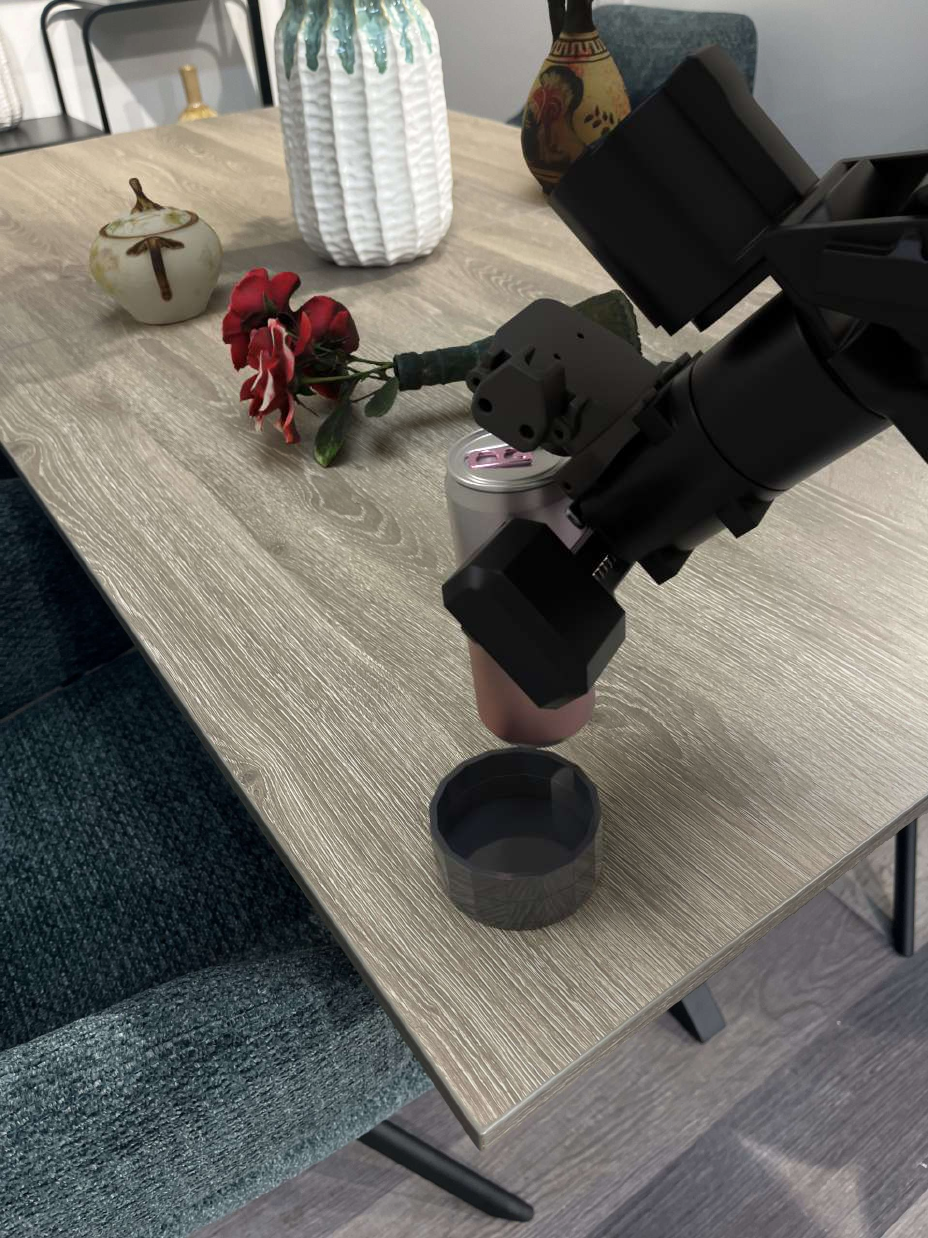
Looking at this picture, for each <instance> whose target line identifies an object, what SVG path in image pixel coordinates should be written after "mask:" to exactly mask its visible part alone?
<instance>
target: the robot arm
mask: <svg viewBox="0 0 928 1238" xmlns="http://www.w3.org/2000/svg"><path fill="white" fill-rule="evenodd" d="M546 204H547V205H548V206H549V207H550V209H552V211H553V212H554V213H555V214H556V215H557V217H558V218H559V219H560V220H561V221H562V222H563V224H564V225H565V226H566V227H567V228H568V229H569V230H570V232H571V233H572V234H573V235H574V236H575V237H576V239H577V240H578V241H579V242H580V243H581V244H582V246H583V247H584V248H585V249H586V250H587V251H588V253H590V255H591V256H592V257H593V258H594V259H595V260H596V262H598V263H597V264H599V265H600V266H601V267H602V269H603V270H604V271H605V272H606V274H607V275H609V277H610V278H611V280H613V281H614V283H616V285H617V286H618V287H619V289H620V290H621V291H622V292H623V293H624V294H625V295H626V297H627V298H628V299H629V300H630V302H631V303H632V304H633V305H634V306H635V307H636V308H637V309H638V310H639V312H640V313H641V314H642V315H643V317H644V318H645V319H647V321H648V322H649V323H650V324H651V325H652V326H653V328H654V329H658V328H660V327H661V328H662V329H663V330H664V331H665V333H666V334H668V336H669V337H670V338H671V337H673V336H674V335H675V334H677V333H678V332H679V331H680V330H682V329H683V328H684V327H685V326H687V325H688V324H689V323H690V322H691V324H692V325H693V326H694V328H696V330H697V331H698V332H699V333H703V332H704V331H706V330H707V329H709V328H710V327H712V326H713V325H714V324H715V323H716V322H718V321H719V320H720V319H722V317H724V316H725V315H726V314H727V313H728V312H730V311H731V310H732V309H733V308H734V307H736V306H737V305H738V304H739V303H740V302H741V301H742V300H743V299H745V298H746V297H747V296H748V295H750V294H751V292H753V291H754V290H755V289H756V288H757V287H758V286H760V285H761V284H762V283H763V282H765V281H766V279H768V278H770V277H771V279H773V281H774V282H775V283H776V285H777V286H778V287H779V288H780V289H781V290H780V291H778V292H777V293H776V294H774V296H772V297H771V298H770V299H769V300H767V301H766V302H765V303H764V304H763V305H761V306H760V307H759V308H758V309H757V310H755V311H753V312H752V313H751V314H750V315H749V316H748V317H747V318H745V319H744V320H743V321H742V322H740V323H739V324H738V325H737V326H736V327H735V328H733V329H732V330H730V331H729V333H727V334H726V335H725V336H724V337H722V338H721V339H720V340H719V341H717V342H716V343H715V344H714V345H712V346H711V347H710V348H709V349H707V350H706V351H705V352H703V351H702V350H701V349H699V350H698V351H697V352H695V353H694V354H693V355H691V354H690V353H689V352H688V351H684V352H683V353H682V354H681V355H680V356H678V357H677V358H675V360H674V361H666V360H660V362H659V363H657V364H655V363H653V362H651V361H650V359H649V360H648V359H647V358H646V357H644V356H643V355H642V356H641V355H640V354H639V353H638V352H637V350H636V349H635V348H634V347H633V346H632V345H631V344H630V343H628V342H627V341H625V340H624V339H622V338H620V337H619V336H617V335H615V334H614V333H612V332H610V331H609V330H607V329H606V328H604V327H602V326H601V325H599V324H597V323H596V322H594V321H592V320H591V319H589V318H587V317H586V316H584V315H582V314H581V313H579V312H577V311H576V310H574V309H572V308H571V307H572V306H570V305H567V304H566V303H564V302H562V301H560V300H557V299H554V298H548V297H547V298H546V297H542V298H538V299H535V300H533V301H532V302H530V303H529V304H528V305H527V306H525V307H524V308H523V309H521V311H519V312H518V313H516V314H515V315H513V317H511V318H510V319H509V320H507V321H506V322H505V323H504V324H502V325H501V326H500V327H499V328H498V329H497V330H496V331H495V333H494V334H493V335H494V338H493V341H492V344H491V347H490V348H489V349H488V350H487V351H486V352H485V355H484V358H483V360H482V362H481V363H480V364H479V365H478V366H476V367H475V368H474V369H473V370H471V371H470V372H469V373H468V374H467V375H466V382H465V385H466V387H467V389H468V390H469V391H470V392H471V393H472V394H473V395H472V398H471V403H470V406H469V407H470V408H469V409H470V410H469V411H470V413H471V416H472V418H473V421H474V422H475V424H476V425H477V426H478V427H479V428H480V429H481V428H483V429H484V430H486V431H487V432H489V433H491V434H492V435H494V436H495V437H497V438H498V439H500V440H502V441H503V442H505V443H506V444H508V445H509V446H511V447H513V448H514V449H516V450H517V451H519V452H521V453H527V452H532V451H535V450H536V449H537V448H538V447H541V448H542V449H544V450H546V451H547V452H549V453H551V454H554V455H556V456H561V457H571V458H570V459H569V460H568V461H566V462H565V463H564V464H563V465H562V466H560V468H559V469H558V470H557V471H556V472H555V473H554V474H553V475H552V476H551V478H552V479H553V480H554V481H555V482H556V483H557V485H558V486H559V487H560V488H561V489H562V490H563V491H564V492H565V493H566V495H567V496H568V497H569V498H570V499H572V500H573V501H572V502H571V504H570V505H569V506H568V507H567V508H566V509H565V515H566V517H567V518H568V519H569V520H570V522H571V523H572V524H573V525H574V526H575V527H577V528H578V529H580V530H581V529H583V528H584V527H586V524H587V530H586V531H585V532H584V533H583V534H582V536H581V537H580V538H579V539H578V540H577V541H576V543H575V544H574V545H573V546H572V547H571V549H569V548H568V547H567V546H566V545H565V544H564V543H563V541H562V540H561V539H560V538H559V537H558V536H557V535H556V534H555V533H554V531H553V530H552V529H551V528H550V527H549V526H548V525H547V524H546V523H543V522H539V521H534V520H530V519H525V518H521V517H516V516H514V517H513V518H512V519H510V520H509V521H508V522H504V523H503V524H502V525H501V526H500V527H499V528H498V529H497V530H496V531H495V532H494V533H493V534H492V536H491V537H489V538H488V539H487V540H486V541H485V542H484V543H483V544H482V545H481V546H480V547H479V548H477V549H476V550H475V552H474V553H473V554H472V555H471V556H470V557H469V558H468V559H467V560H466V561H465V562H464V563H463V564H462V565H461V566H460V567H459V568H458V569H457V568H456V570H455V571H454V572H453V573H452V574H451V575H450V576H449V577H448V578H447V580H445V581H444V583H443V584H442V585H441V594H442V603H443V607H444V608H445V610H447V611H448V612H449V614H451V616H452V617H453V618H454V619H455V620H456V621H457V622H458V623H459V624H460V630H461V631H462V633H463V634H464V635H465V636H466V638H467V637H468V638H469V639H470V640H471V641H472V642H473V643H475V644H477V645H480V646H481V647H482V648H483V649H484V650H485V651H486V652H487V653H488V654H489V655H490V656H491V657H492V658H493V660H494V661H495V662H496V663H497V664H498V665H499V666H500V667H501V668H502V669H503V670H504V671H505V672H506V674H507V675H508V676H509V677H510V678H511V679H512V680H513V681H514V682H515V683H516V684H517V685H518V686H519V688H520V689H521V690H522V691H523V692H524V693H525V694H526V695H527V696H528V697H529V698H530V699H531V700H532V702H533V703H534V704H535V705H536V706H537V707H538V708H539V709H551V710H557V709H559V708H561V707H563V706H565V705H567V704H568V703H570V702H572V701H574V700H576V699H578V698H580V697H582V696H584V695H586V694H587V693H588V692H589V691H590V689H591V688H592V686H593V685H594V683H595V684H596V682H597V681H598V679H599V678H600V676H601V675H602V674H603V672H604V670H605V669H606V667H607V666H608V665H609V663H610V662H611V661H612V659H613V658H614V656H615V655H616V653H617V652H618V651H619V649H620V648H621V646H622V645H623V643H624V642H625V641H626V638H627V636H626V635H627V633H626V632H627V631H626V630H627V628H626V626H627V625H626V624H627V623H626V622H627V621H626V617H627V616H626V615H627V614H626V610H625V608H623V607H622V606H621V605H620V603H619V602H618V600H617V598H616V595H615V592H616V590H617V588H618V587H619V586H620V585H621V583H622V582H623V581H624V579H625V578H626V576H627V575H628V574H629V573H630V571H631V570H632V568H633V567H634V566H635V564H636V563H638V564H639V566H641V568H642V570H644V571H645V572H646V573H647V575H648V576H649V577H650V578H651V579H652V580H653V581H654V582H655V583H656V585H657V586H662V585H663V584H665V583H666V582H668V581H669V580H671V579H673V578H675V577H676V576H677V575H678V574H679V572H680V571H681V570H682V568H683V566H685V564H686V562H687V561H688V560H689V558H690V556H691V555H692V554H693V552H694V551H695V549H696V548H698V547H699V546H701V545H702V544H703V543H706V542H707V541H709V540H710V539H712V538H713V537H715V536H716V535H718V534H720V533H722V532H723V531H725V530H726V529H727V530H728V531H729V532H730V533H731V535H732V536H733V537H734V538H735V539H736V540H737V539H739V538H741V537H743V536H745V534H748V533H749V532H751V531H753V530H754V529H756V528H757V527H758V526H759V525H760V524H761V522H762V520H763V518H764V517H765V515H766V514H767V513H768V511H769V509H770V507H771V506H772V504H773V502H774V501H775V500H776V498H778V497H780V496H782V495H783V494H784V493H786V492H788V491H789V490H791V489H793V488H794V487H795V486H797V485H798V484H800V483H802V482H803V481H805V480H807V479H808V478H810V477H811V476H813V475H814V474H816V473H818V472H820V471H821V470H823V469H824V468H826V467H828V466H829V465H831V464H833V463H834V462H836V461H837V460H839V459H840V458H842V457H844V456H845V455H847V454H849V453H850V452H852V451H854V450H855V449H857V448H858V447H860V446H862V445H863V444H864V443H866V442H868V441H869V440H872V439H873V438H874V437H876V436H877V435H879V434H881V433H882V432H884V431H886V430H888V429H889V428H891V427H892V426H894V427H895V428H896V429H897V430H898V431H899V433H900V434H901V435H902V436H903V437H904V439H905V440H906V441H907V442H908V444H909V445H910V446H911V448H913V449H914V451H915V452H916V453H917V454H918V455H919V457H920V458H921V459H922V460H923V461H924V463H925V464H926V465H927V466H928V148H927V149H917V150H909V151H908V150H907V151H900V152H899V151H898V152H890V153H889V152H888V153H881V154H873V155H864V156H855V157H845V158H841V159H839V160H837V161H836V162H835V163H834V164H833V165H832V166H831V167H830V168H829V169H828V170H827V172H825V173H824V174H823V175H822V176H821V177H819V176H818V175H817V174H816V172H815V170H813V169H812V167H811V166H810V165H809V164H808V163H807V161H806V160H805V159H804V158H803V157H802V156H801V155H800V153H799V152H798V150H796V148H795V147H794V146H793V144H792V143H791V142H790V140H788V138H786V136H785V134H783V132H782V131H781V130H780V129H779V127H778V125H776V124H775V123H774V121H773V120H772V119H771V118H770V116H769V115H768V114H767V113H766V111H764V110H763V108H762V107H761V106H760V105H759V103H758V102H757V101H756V99H755V98H754V96H753V95H752V93H751V90H750V88H749V86H748V84H747V81H746V80H745V77H744V75H743V74H742V72H741V71H740V70H739V68H738V67H737V65H736V64H735V63H734V62H733V60H732V59H731V58H730V56H728V54H727V53H726V52H725V51H724V49H722V47H721V46H720V45H719V44H718V43H707V44H705V45H704V46H702V47H700V48H698V49H696V50H694V51H693V52H691V53H690V54H688V55H686V56H685V57H684V58H683V59H682V61H681V62H680V63H679V64H678V65H677V66H676V67H675V68H674V70H673V71H672V72H671V73H670V75H668V76H667V78H666V79H665V80H664V81H663V82H662V83H661V84H659V85H658V86H657V87H656V88H655V89H654V90H653V91H652V92H650V93H649V94H648V95H647V96H646V97H645V98H644V99H643V100H641V101H640V102H639V103H638V104H637V105H636V106H635V107H634V108H633V109H631V112H630V113H629V114H628V115H627V116H626V117H625V118H624V119H623V120H622V121H621V122H620V123H619V124H618V125H617V126H616V127H615V128H614V129H613V130H611V131H609V132H608V133H606V134H605V135H603V136H601V137H600V138H598V139H596V140H595V141H593V142H592V143H591V144H590V145H588V146H587V147H586V148H585V150H584V151H583V152H582V153H581V154H580V155H579V156H578V158H577V159H576V160H575V161H574V162H573V163H572V165H571V166H570V167H569V168H568V170H567V171H566V172H565V173H564V175H563V176H562V177H561V178H560V180H559V181H558V183H557V184H556V185H555V187H554V188H553V190H552V191H551V193H550V195H549V197H548V200H546Z"/></svg>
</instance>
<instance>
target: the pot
mask: <svg viewBox="0 0 928 1238" xmlns="http://www.w3.org/2000/svg"><path fill="white" fill-rule="evenodd" d="M428 814H429V815H428V816H429V831H430V832H429V833H430V838H431V845H432V850H433V856H434V862H435V868H436V874H437V877H438V878H439V882H440V884H441V885H440V886H441V887H442V889H443V891H444V893H445V895H446V896H447V898H448V899H449V901H450V902H451V903H452V904H453V905H454V906H455V907H456V908H457V909H458V910H459V911H460V912H462V914H464V915H465V916H467V917H469V918H470V919H472V920H474V921H476V922H478V923H480V924H483V925H486V926H489V927H491V928H496V929H501V930H509V931H510V930H511V931H527V930H533V929H539V928H543V927H547V926H550V925H552V924H555V923H557V922H560V921H562V920H564V919H565V918H567V917H569V916H570V915H572V914H573V913H574V912H576V911H577V910H578V909H580V908H581V907H582V906H583V905H584V903H586V901H587V900H588V899H589V898H590V896H591V895H592V894H593V891H594V890H595V888H596V886H597V885H598V881H599V879H600V875H601V870H602V861H603V858H604V847H603V846H604V838H603V837H604V836H603V835H604V833H603V829H604V827H603V824H604V822H603V809H602V804H601V799H600V795H599V790H598V787H597V785H596V784H595V783H594V782H593V780H592V779H591V778H590V777H589V776H588V775H587V773H586V772H585V771H584V770H583V768H581V766H580V765H579V764H577V763H575V762H573V761H571V760H570V759H567V758H565V757H564V756H562V755H561V754H558V753H556V752H555V751H552V750H546V749H542V748H523V747H518V746H511V747H503V748H493V749H489V750H486V751H483V752H481V753H479V754H477V755H475V756H472V757H470V758H467V759H465V760H462V761H460V763H459V764H458V765H456V767H454V768H453V769H452V770H451V771H450V772H448V773H447V774H446V775H445V776H444V777H443V778H442V779H440V781H439V783H438V785H437V787H436V790H435V792H434V794H433V796H432V797H431V800H430V802H429V805H428Z"/></svg>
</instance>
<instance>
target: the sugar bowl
mask: <svg viewBox="0 0 928 1238" xmlns="http://www.w3.org/2000/svg"><path fill="white" fill-rule="evenodd" d="M128 185H129V186H130V187H131V189H132V191H133V193H134V195H135V196H136V202H135V205H134V206H133V208H131V210H128V211H126V212H123V213H121V214H120V215H118V216H116V217H115V218H113V220H112V221H110V222H108V223H107V224H105V225H104V226H102V227H101V228H100V229H99V231H98V235H97V236H96V238H95V239H94V241H93V242H92V244H91V246H90V250H89V255H88V262H89V269H90V271H91V274H92V276H93V279H94V280H95V281H96V283H97V285H98V286H99V287H100V288H101V290H103V291H104V292H105V294H107V296H109V297H110V298H111V299H112V300H114V302H115V303H117V304H118V305H119V306H120V307H121V308H122V309H124V310H125V311H126V312H127V313H129V314H130V315H131V316H132V317H133V318H134V319H135V320H136V321H138V322H139V323H143V324H148V325H166V324H172V323H178V322H182V321H186V320H190V319H193V318H195V317H197V316H199V315H201V314H203V312H204V311H205V310H206V308H207V305H208V303H209V301H210V298H211V296H212V294H213V291H214V289H215V287H216V285H217V283H218V281H219V278H220V275H221V271H222V267H223V263H224V250H223V245H222V243H221V239H220V237H219V235H218V234H217V233H216V231H215V229H214V228H213V227H212V226H211V225H210V224H209V223H208V222H207V221H205V220H204V219H202V218H201V217H200V216H199V215H198V214H197V213H196V212H193V211H192V210H186V209H184V210H183V209H180V208H178V207H174V206H168V205H167V206H166V205H161V204H159V203H156V202H154V201H153V200H151V199H150V198H148V197H147V196H146V194H145V193H144V191H143V187H142V184H141V182H140V179H139V178H137V177H131V178H129V180H128Z"/></svg>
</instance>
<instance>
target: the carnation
mask: <svg viewBox="0 0 928 1238" xmlns="http://www.w3.org/2000/svg"><path fill="white" fill-rule="evenodd" d="M301 285H302V281H301V277H300V276H299V275H298V274H297V273H295V272H293V271H280V272H279V273H277V274H276V275H273V276H272V278H269V273H268V271H267V269H266V268H265V267H257V268H252V269H251V270H250V271H248V272H247V273H246V275H245V276H244V277H243V278H242V279H241V280H239V282H238V283H237V284H235V286H234V288H233V290H232V291H231V294H230V296H229V301H230V304H229V305H228V306H227V311H228V312H226V313H225V315H224V317H223V319H222V323H221V332H222V334H221V335H222V337H221V338H222V342H223V343H224V345H230V357H231V363H232V365H233V369H234V370H236V372H237V373H239V371H240V370H241V369H245V368H246V367H248V366H249V367H250V369H253V370H255V371H256V372H257V373H256V374H253V375H251V376H250V377H248V378H247V379H245V380H244V381H243V383H242V384H241V388H240V391H239V403H241V402H245V401H248V400H251V401H250V404H249V407H248V409H247V414H248V417H249V419H251V420H252V419H253V418H255V421H254V423H255V424H254V428H255V430H256V431H257V432H260V433H262V432H263V431H264V430H263V428H262V426H263V421H264V418H265V417H266V416H268V415H270V414H272V413H273V412H275V411H277V410H278V411H279V413H280V417H279V419H277V420H276V422H275V423H274V428H275V429H277V430H278V431H279V432H280V433H282V434H283V435H284V438H285V443H286V444H290V445H298V444H300V443H301V441H302V438H301V435H300V433H299V431H298V429H297V425H296V422H295V417H294V416H295V403H296V404H297V405H296V406H301V407H303V408H304V409H306V410H307V411H309V412H310V413H312V414H313V415H314V416H316V417H320V416H319V415H318V414H317V413H316V412H314V411H313V410H312V409H310V408H309V407H307V406H306V405H305V403H304V402H302V401H301V400H300V399H299V397H298V395H299V396H302V397H313V396H317V395H319V396H322V397H324V398H325V399H326V400H327V399H328V400H330V401H334V402H335V404H336V406H335V407H334V408H333V410H332V412H331V413H330V414H329V415H328V416H327V418H326V419H325V420H324V421H323V422H322V424H321V425H320V426H319V427H318V430H317V433H316V435H315V437H314V441H313V455H314V458H315V459H316V461H317V462H318V463H320V465H321V466H322V467H324V468H326V467H328V465H329V464H330V463H331V460H332V459H333V458H334V457H335V456H336V455H337V453H338V452H339V450H340V448H341V447H342V445H343V444H344V442H345V440H346V437H347V436H348V432H349V429H350V424H351V420H352V419H351V418H352V410H353V408H352V407H353V406H352V405H353V404H356V405H357V404H358V403H359V402H361V401H363V400H365V399H367V398H369V397H370V399H369V400H368V401H367V402H366V403H365V405H364V411H363V413H364V417H365V418H369V419H370V418H381V417H384V416H385V415H386V414H388V413H389V411H391V409H392V407H393V406H394V403H395V401H396V399H397V397H398V393H399V392H400V393H402V392H406V391H420V390H421V389H422V388H423V386H425V387H433V386H437V385H442V386H447V385H448V384H452V383H458V382H465V383H466V375H467V374H468V373H469V372H470V371H471V370H473V369H474V368H475V367H476V366H478V365H479V364H480V363H481V362H482V360H483V358H484V355H485V352H486V351H487V350H488V349H489V348H490V347H491V344H492V341H493V338H494V335H495V334H491V335H489V336H487V337H484V338H483V339H480V340H476V341H473V342H471V343H469V344H467V345H457V346H447V347H442V348H436V349H434V350H425V351H423V352H422V353H417V352H416V351H409V352H402V353H400V354H398V353H395V354H393V357H392V361H377V360H372V359H371V360H370V359H366V358H361V357H358V356H356V355H354V354H352V353H355V352H357V351H358V349H359V348H360V340H361V338H360V334H359V331H358V328H357V325H356V322H355V319H354V318H353V316H352V314H351V312H350V310H349V309H348V308H347V307H346V306H345V305H344V304H343V303H342V302H341V301H337V300H336V299H334V298H333V297H330V296H326V295H314V296H313V297H311V298H309V299H308V300H307V301H306V302H304V303H303V304H302V305H300V306H299V308H297V309H296V310H295V311H294V310H293V309H292V308H291V305H290V299H292V296H293V295H294V294H295V292H296V291H297V290H298V289H299V288H301ZM570 307H571V308H572V309H574V310H576V311H577V312H579V313H581V314H582V315H584V316H586V317H587V318H589V319H591V320H592V321H594V322H596V323H597V324H599V325H601V326H602V327H604V328H606V329H607V330H609V331H610V332H612V333H614V334H615V335H617V336H619V337H620V338H622V339H624V340H625V341H627V342H628V343H630V344H631V345H632V346H633V347H634V348H635V349H636V350H637V352H638V353H639V354H640V355H641V356H643V355H644V354H643V351H642V346H643V344H642V342H641V341H642V338H641V337H640V336H641V333H640V332H639V331H638V330H639V326H638V320H637V314H636V313H635V312H634V309H635V306H634V303H633V302H632V301H631V300H630V298H629V297H628V296H627V295H626V294H625V293H624V292H623V290H622V289H618V288H616V289H614V288H613V289H611V290H609V291H606V292H604V293H600V294H597V295H592V296H591V297H587V299H585V300H582V301H581V302H578V303H575V304H574V305H572V306H570ZM352 363H364V364H368V365H373V366H378V367H374V368H372V369H369V370H366V371H361V370H358V369H355V368H353V367H351V366H349V365H350V364H352ZM389 369H392V370H393V375H394V376H389V375H388V374H387V371H388V370H389ZM349 372H352V374H350V373H349ZM371 374H374V375H371ZM368 378H369V379H372V380H377V381H383V382H385V383H384V384H383V385H382V386H381V387H380V388H378V389H376V390H374V391H372V392H371V393H369V394H367V395H363V396H361V397H359V398H356V399H352V398H351V397H352V394H353V393H354V391H355V390H356V387H357V385H358V384H359V382H360V383H363V382H364V381H366V379H368ZM313 390H314V391H313Z"/></svg>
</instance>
